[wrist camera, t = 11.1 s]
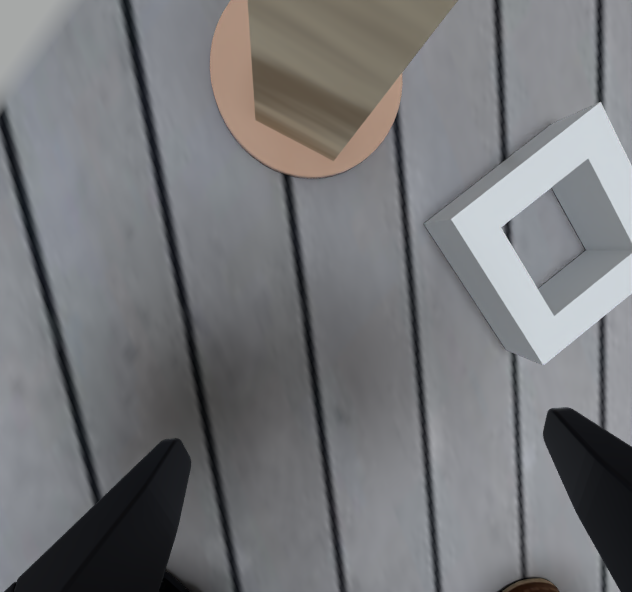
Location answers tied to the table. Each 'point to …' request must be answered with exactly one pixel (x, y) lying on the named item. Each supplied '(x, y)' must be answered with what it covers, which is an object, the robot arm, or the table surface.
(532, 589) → the coffee cup
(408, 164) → the table surface
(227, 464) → the table surface
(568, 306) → the socket
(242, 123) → the peach flat disc
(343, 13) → the wooden block tower
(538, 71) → the table surface
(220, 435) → the table surface
